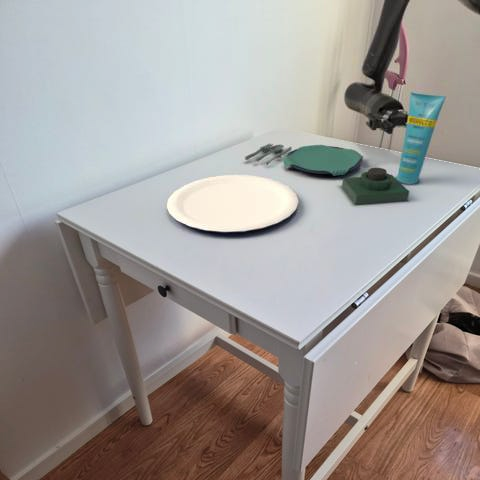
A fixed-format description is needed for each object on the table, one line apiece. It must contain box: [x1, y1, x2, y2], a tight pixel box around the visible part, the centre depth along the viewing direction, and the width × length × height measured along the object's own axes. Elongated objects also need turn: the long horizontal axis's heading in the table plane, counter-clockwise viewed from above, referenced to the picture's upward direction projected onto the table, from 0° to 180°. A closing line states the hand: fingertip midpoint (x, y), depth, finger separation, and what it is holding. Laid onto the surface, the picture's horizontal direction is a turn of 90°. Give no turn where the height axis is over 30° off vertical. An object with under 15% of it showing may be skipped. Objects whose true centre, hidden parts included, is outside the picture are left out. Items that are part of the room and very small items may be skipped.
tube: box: [396, 91, 447, 185], centre depth 97 cm, size 7×5×19 cm, turn 57°
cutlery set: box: [244, 143, 364, 177], centre depth 114 cm, size 20×30×2 cm, turn 58°
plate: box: [166, 174, 299, 234], centre depth 94 cm, size 29×29×2 cm
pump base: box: [341, 171, 410, 205], centre depth 97 cm, size 12×10×4 cm
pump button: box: [367, 167, 388, 181], centre depth 95 cm, size 4×4×2 cm
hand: (408, 128), depth 101 cm, fingers open, 8 cm apart
